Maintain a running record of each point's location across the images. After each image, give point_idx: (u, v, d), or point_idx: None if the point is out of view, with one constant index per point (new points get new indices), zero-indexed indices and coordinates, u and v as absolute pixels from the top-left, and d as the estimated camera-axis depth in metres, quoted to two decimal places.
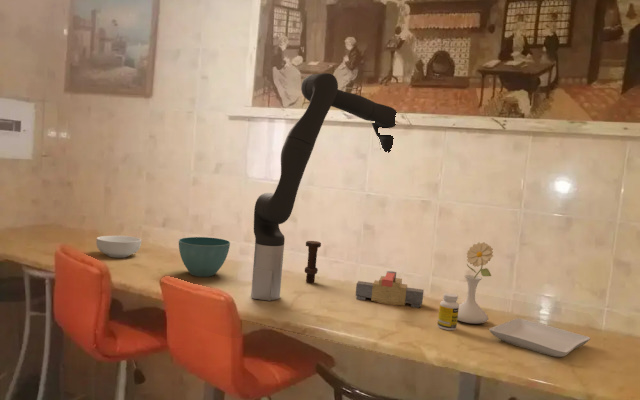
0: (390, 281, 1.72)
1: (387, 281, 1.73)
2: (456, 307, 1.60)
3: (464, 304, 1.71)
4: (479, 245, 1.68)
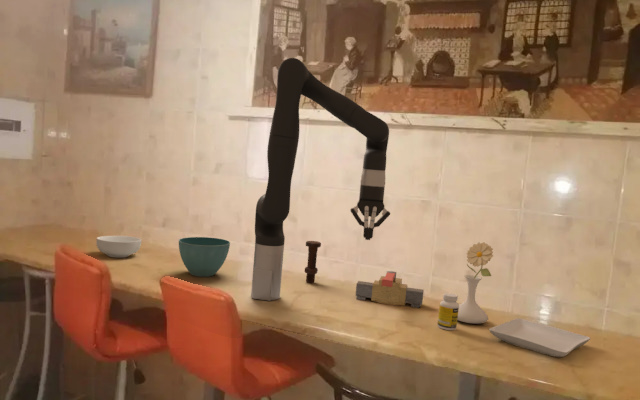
0: (390, 281, 1.72)
1: (387, 281, 1.73)
2: (456, 307, 1.60)
3: (464, 304, 1.71)
4: (479, 245, 1.68)
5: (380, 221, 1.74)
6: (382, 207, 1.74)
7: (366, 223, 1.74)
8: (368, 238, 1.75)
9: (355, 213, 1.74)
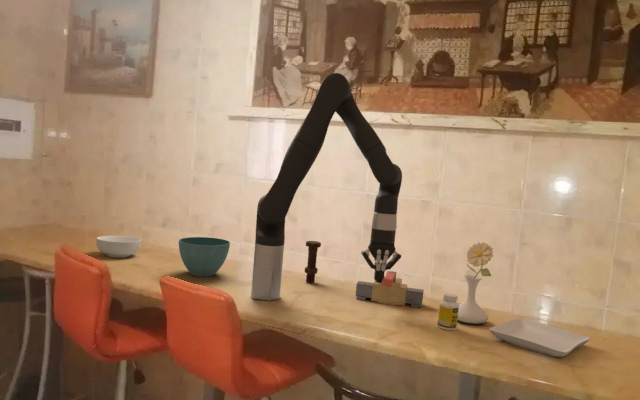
0: (390, 281, 1.72)
1: (387, 281, 1.73)
2: (456, 307, 1.60)
3: (464, 304, 1.71)
4: (479, 245, 1.68)
5: (391, 264, 1.75)
6: (393, 250, 1.74)
7: (378, 266, 1.74)
8: (379, 281, 1.75)
9: (367, 257, 1.73)
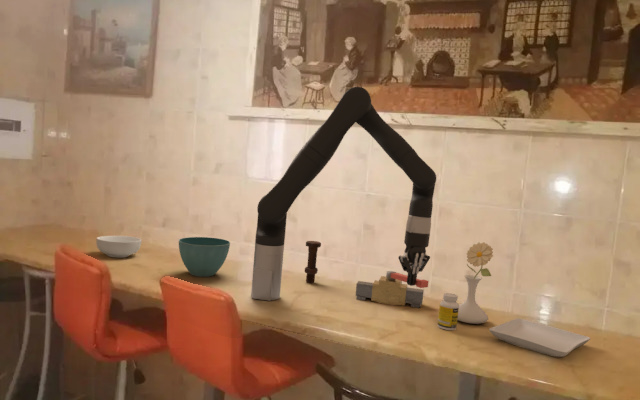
0: (427, 282, 1.76)
1: (425, 282, 1.76)
2: (456, 307, 1.60)
3: (464, 304, 1.71)
4: (479, 245, 1.68)
5: (423, 266, 1.77)
6: (425, 252, 1.77)
7: (414, 269, 1.74)
8: (414, 284, 1.75)
9: (407, 261, 1.72)
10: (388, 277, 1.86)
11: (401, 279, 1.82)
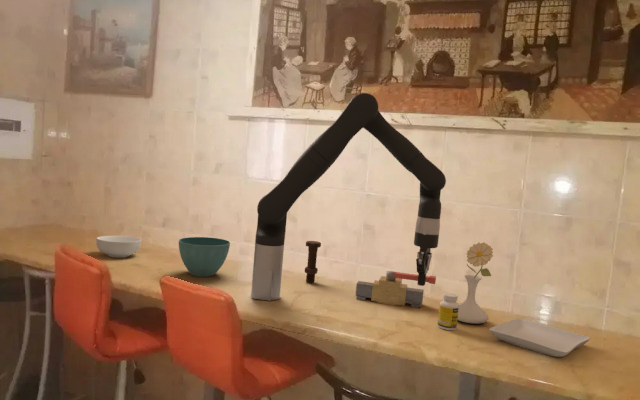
0: (435, 277, 1.84)
1: (435, 278, 1.84)
2: (456, 307, 1.60)
3: (464, 304, 1.71)
4: (479, 245, 1.68)
5: (429, 265, 1.82)
6: None
7: (426, 270, 1.78)
8: (424, 284, 1.79)
9: (424, 263, 1.74)
10: (391, 277, 1.85)
11: (408, 278, 1.84)
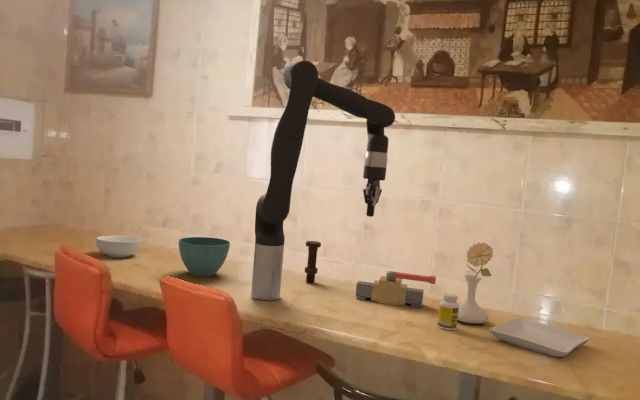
0: (435, 277, 1.84)
1: (435, 278, 1.84)
2: (456, 307, 1.60)
3: (464, 304, 1.71)
4: (479, 245, 1.68)
5: (378, 198, 1.94)
6: (379, 185, 1.94)
7: (374, 201, 1.90)
8: (373, 215, 1.91)
9: (371, 193, 1.86)
10: (391, 277, 1.85)
11: (408, 278, 1.84)
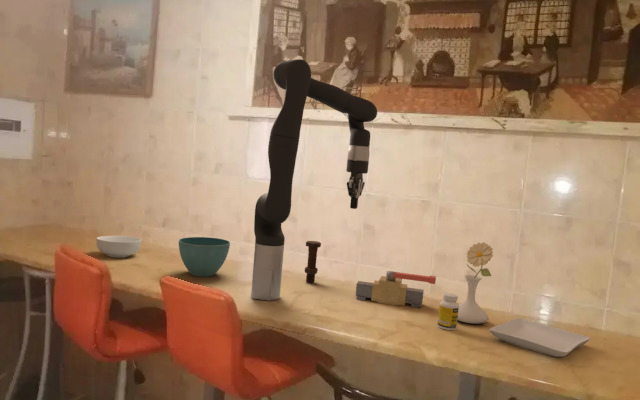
0: (435, 277, 1.84)
1: (435, 278, 1.84)
2: (456, 307, 1.60)
3: (464, 304, 1.71)
4: (479, 245, 1.68)
5: (361, 191, 2.00)
6: (362, 178, 1.99)
7: (357, 194, 1.96)
8: (356, 207, 1.97)
9: (354, 186, 1.92)
10: (391, 277, 1.85)
11: (408, 278, 1.84)
